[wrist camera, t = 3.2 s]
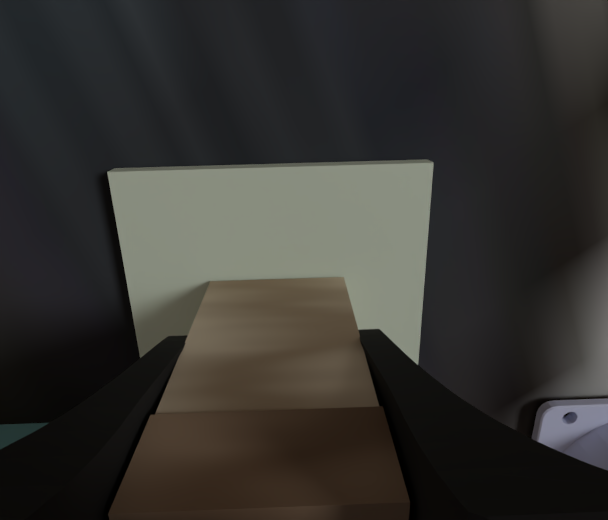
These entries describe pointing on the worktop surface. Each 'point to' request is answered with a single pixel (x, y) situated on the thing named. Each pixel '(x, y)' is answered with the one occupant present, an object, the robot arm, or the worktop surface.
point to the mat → (275, 237)
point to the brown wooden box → (267, 415)
